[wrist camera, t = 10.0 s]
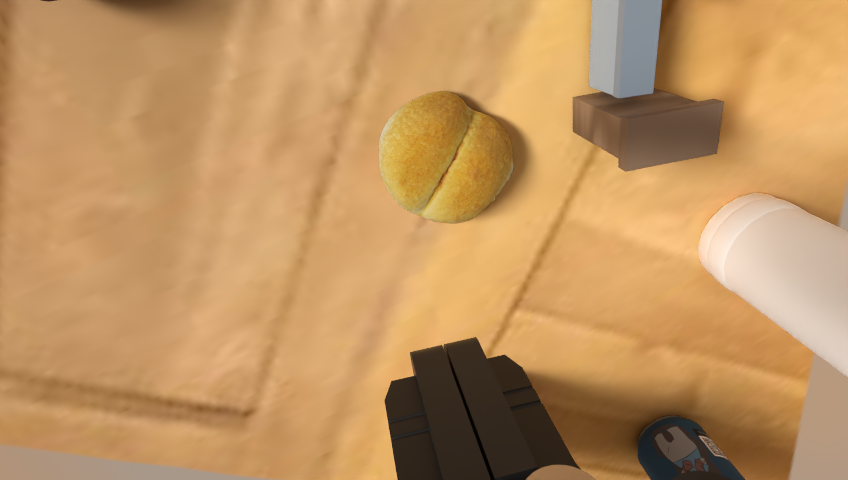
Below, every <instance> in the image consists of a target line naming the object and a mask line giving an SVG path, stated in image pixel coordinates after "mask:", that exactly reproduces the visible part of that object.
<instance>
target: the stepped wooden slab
mask: <svg viewBox="0 0 848 480" xmlns="http://www.w3.org/2000/svg"><path fill="white" fill-rule="evenodd" d="M723 103H724V102H723V101H719V100H716V99H711V100H706V101H700V102H697V101H693V100H690V99H687V98H683V97H680V96H677V95H674V94H670V93H667V92H664V91H661V90H657V89H654V90H653V93H652V94H645V95H638V96H631V97H625V98H616V97H614V96H613V95H611V94H608V93H605V92H599V93H594V94H588V95H583V96H577V97H573V132H574V133H576V134H578V135H580V136H581V137H583V138H585V139H586V140H588V141H590V142H591V143H593V144H595V145H597V146H598V147H600V148H602V149H603V150H605V151H607V152H608V153H610V154H612V155H614V156H615V157H617V158H619V168H621V169H622V170H624V171H625V172H626V171H631V170H636V169H641V168H646V167H651V166H656V165H662V164H667V163H672V162H677V161H682V160H687V159H692V158H697V157H702V156H708V155H713V154H717V149H718V142H719V134H720V126H721V119H722V111H723Z"/></svg>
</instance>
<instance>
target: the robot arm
mask: <svg viewBox="0 0 848 480" xmlns="http://www.w3.org/2000/svg"><path fill="white" fill-rule="evenodd" d="M410 356H411V362H412V367H413V373H414V376H412V377H408V378H403V379H399V380H395V381H391V384H390V387H389V390H388V393H387V395H386V398H385V405H386V411H387V417H388V423H389V430H390V436H391V442H392V448H393V454H394V460H395V466H396V472H397V478H398V480H595V479H594V478H593V477H592V476H591V475H589V474H588V473H586V472H584V471H582V470H581V469H580V468H579V467H578V466H577V464H576V463H575V461H574V460H573V458H572V456H571V454H570V453H569V451H568V449H567V447H566V445H565V444H564V442H563V440H562V438H561V436H560V435H559V433H558V431H557V429H556V427H555V426H554V424H553V422H552V420H551V418H550V417H549V415H548V413H547V411H546V409H545V408H544V406H543V404H541V402H540V399H539V397H538V395H537V393H536V392H535V390H534V389H533V388H532V384H531V383H530V381H529V379H528V377H527V375H526V374H525V372H524V370H523V368H522V367H521V366H519V365H518V364H517V363H515V362H514V361H513V360H511V359H510V358H508V357H507V356H506V355H501V356H497V357H493V358H488V359H487V358H486V356H485V354H484V352H483V350H482V348H481V345H480V343H479V341H478V339H477V338H476V337H474V338H470V339H466V340H461V341H457V342H453V343H448V344H444V348H443V346H442V345H440V346H436V347H431V348H427V349H423V350H418V351H414V352H410ZM672 480H732V479H730V478H727V477H725V476H722V475H720V474H716V473H712V472H707V471H689V472H684V473H681V474H679V475H677V476H675V477H674V478H673V479H672Z"/></svg>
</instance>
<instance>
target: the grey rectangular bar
mask: <svg viewBox="0 0 848 480" xmlns="http://www.w3.org/2000/svg"><path fill="white" fill-rule="evenodd" d="M661 8H662V0H592V20H591V44H590V69H589V87H592V88H595V89H597V90H600V91H603V92H605V93H608V94H611V95H613V96H614V97H616V98H625V97H631V96H638V95H645V94H652V93H653V90H654V80H655V69H656V59H657V49H658V39H659V28H660V18H661Z"/></svg>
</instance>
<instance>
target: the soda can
mask: <svg viewBox="0 0 848 480" xmlns="http://www.w3.org/2000/svg"><path fill="white" fill-rule="evenodd" d="M638 459H639V462H640V464H641V465H642V467H643V468H644V470H645V471H646V473H647V474H648V476H649V477H650V479H651V480H672V479H673V478H674V477H675V476H677V475H679V474H681V473H684V472H689V471H707V472H712V473H716V474H720V475H722V476H725V477H727V478H730V479H732V480H745V479H744V478H743V476H742V475H741V474H740V473H739V472H738V470H737V469H736V468H735V467H734V466H733V464H732V463H731V462H730V461H729V460H728V459H727V457H726V456H725V455H724V454H723V453H722V451H721V450H720V449H719V448H718V447H717V445H716V444H715V443H714V442H713V441H712V440H711V438H710V437H709V436H708V435H707V434H706V432H705V431H704V430H703V429H702V428H701V426H700V425H698V424H697V423H695V422H693V421H691V420H689V419H686V418H683V417H680V416H674V415H672V416H665V417H662V418H659V419H657V420H655V421H653V422H652V423H650V424H649V425H648V426H647V427H646V428H645V429H644V430H643V431H642V432H641V434H640V436H639V438H638Z"/></svg>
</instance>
